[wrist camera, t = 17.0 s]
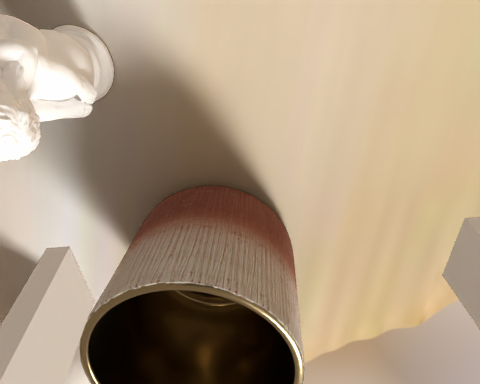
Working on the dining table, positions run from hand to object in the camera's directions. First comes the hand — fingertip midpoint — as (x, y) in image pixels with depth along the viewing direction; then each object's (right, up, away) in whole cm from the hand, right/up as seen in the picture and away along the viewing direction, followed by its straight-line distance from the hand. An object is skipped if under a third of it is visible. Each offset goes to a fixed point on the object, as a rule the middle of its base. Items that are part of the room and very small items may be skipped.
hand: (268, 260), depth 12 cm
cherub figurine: (-22, +17, +29) cm, 40 cm away
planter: (-4, -6, +39) cm, 40 cm away
